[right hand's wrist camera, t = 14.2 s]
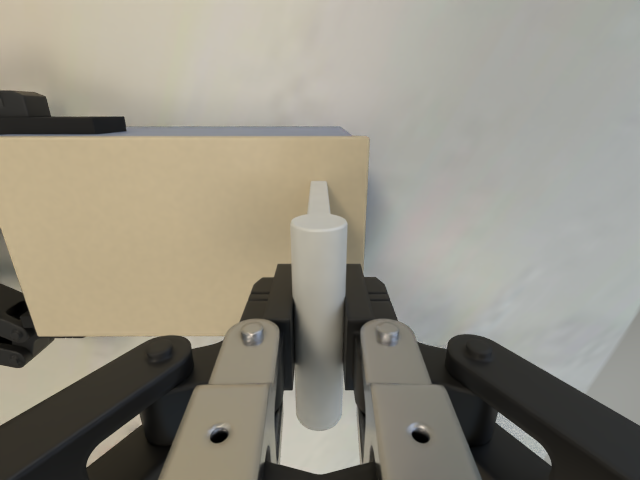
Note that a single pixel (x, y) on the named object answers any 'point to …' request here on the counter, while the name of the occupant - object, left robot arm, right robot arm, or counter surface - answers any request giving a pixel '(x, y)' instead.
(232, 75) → the counter surface
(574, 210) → the counter surface
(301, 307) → the lid
